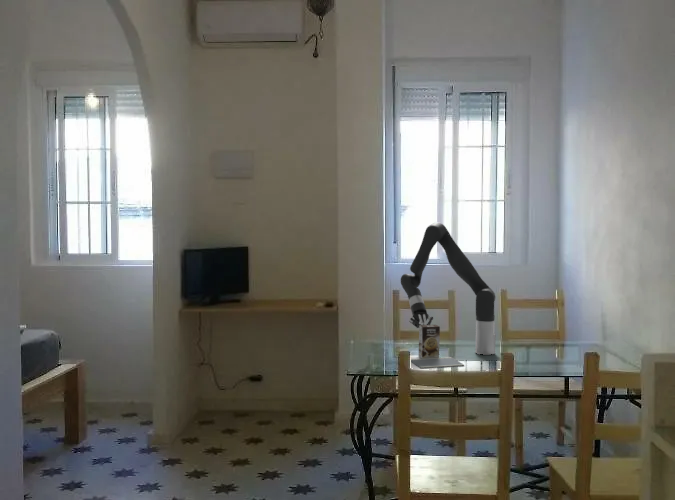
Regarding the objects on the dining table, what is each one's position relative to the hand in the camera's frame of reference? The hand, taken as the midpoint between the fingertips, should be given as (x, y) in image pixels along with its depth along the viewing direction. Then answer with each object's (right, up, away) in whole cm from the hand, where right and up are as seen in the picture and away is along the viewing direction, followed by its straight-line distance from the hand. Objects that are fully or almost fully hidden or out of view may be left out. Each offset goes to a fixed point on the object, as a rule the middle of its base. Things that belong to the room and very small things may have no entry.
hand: (425, 333), depth 391 cm
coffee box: (+1, -12, -4) cm, 12 cm away
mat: (+3, -13, -17) cm, 22 cm away
